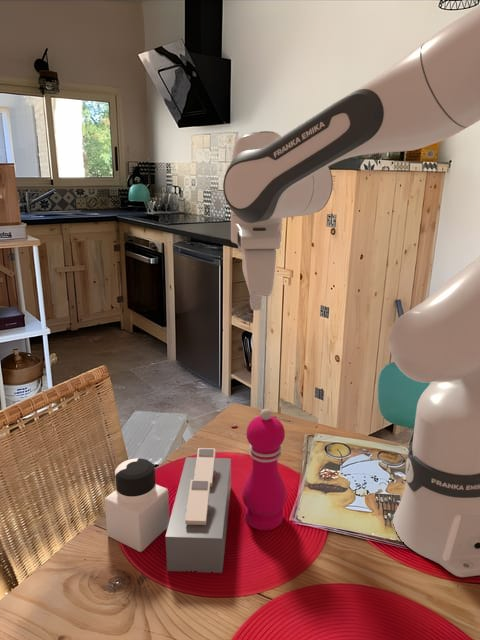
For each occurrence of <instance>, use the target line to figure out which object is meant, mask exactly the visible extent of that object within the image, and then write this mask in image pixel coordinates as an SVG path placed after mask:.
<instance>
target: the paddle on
mask: <svg viewBox="0 0 480 640" xmlns="http://www.w3.org/2000/svg"><path fill="white" fill-rule="evenodd" d="M209 493H210V480H191V482H190V489H189V496H188V503H187V510H186V517H185V524H188V525H206V521H207V512H208V502H209Z"/></svg>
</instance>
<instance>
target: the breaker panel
mask: <svg viewBox="0 0 480 640" xmlns="http://www.w3.org/2000/svg"><path fill="white" fill-rule="evenodd" d="M196 459H197V457H191V456H190V457H189V456H187V457H185V460H184V464H183V469H182V471H181V475H180V476H181V477H180V479H179V483H178V488H177V491H176V495H175V498H174V503H173V507H172V510H171V514H170V516H169V525H168V528H166V533H165V536H164V537H165V551H166V552H165V553H166V569H167V572H182V571H183V572H186V571H188V572H187V573H191V572H190V571H192V573H195V572H194V571H197V572H196V573H211V572H213V574H215V573H216V574H223V573H222V572H223V571H224V569H223V568H224V562H225V561H224V560H225V550H226V541H227V530H228V520H229V511H230V499H231V490H232V465H231V464H232V463H231V462H232V459H231V458H229V457H228V458H225V457H223V458H222V457H219V458H218V457H215V463H214V473H213V483H212V487H210V493H209V502H208V512H207V521H206V525H188V524H185V517H186V510H187V503H188V496H189V489H190V482H191V480H194V474H195V466H196Z"/></svg>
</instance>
